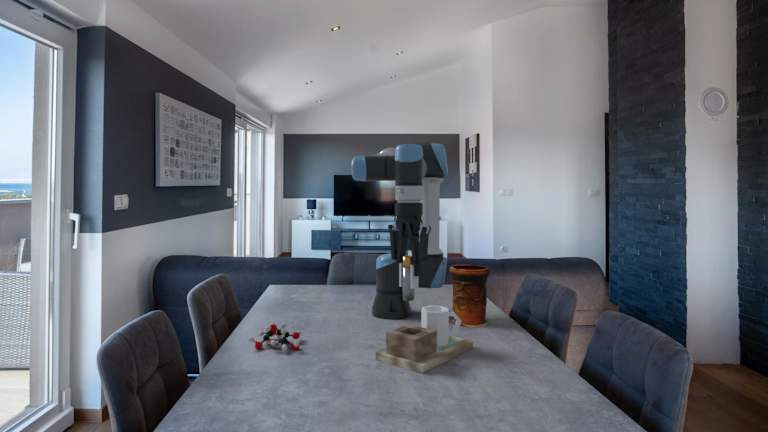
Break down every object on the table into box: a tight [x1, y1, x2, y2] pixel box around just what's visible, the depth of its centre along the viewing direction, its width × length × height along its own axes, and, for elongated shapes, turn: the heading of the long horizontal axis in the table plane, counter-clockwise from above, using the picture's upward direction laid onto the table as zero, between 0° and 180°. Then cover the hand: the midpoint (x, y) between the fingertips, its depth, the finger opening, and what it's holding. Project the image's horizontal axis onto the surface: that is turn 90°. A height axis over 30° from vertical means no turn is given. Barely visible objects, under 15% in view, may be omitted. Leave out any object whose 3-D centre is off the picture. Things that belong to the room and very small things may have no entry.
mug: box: [420, 305, 461, 346], centre depth 137 cm, size 12×9×10 cm
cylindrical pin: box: [403, 255, 415, 302], centre depth 127 cm, size 3×3×12 cm
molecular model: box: [248, 322, 302, 352], centre depth 140 cm, size 10×12×15 cm
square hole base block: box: [375, 324, 474, 374], centre depth 134 cm, size 16×26×8 cm, turn 140°
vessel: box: [449, 263, 491, 328], centre depth 166 cm, size 14×14×20 cm
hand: (408, 286), depth 127 cm, fingers closed on cylindrical pin, 3 cm apart
